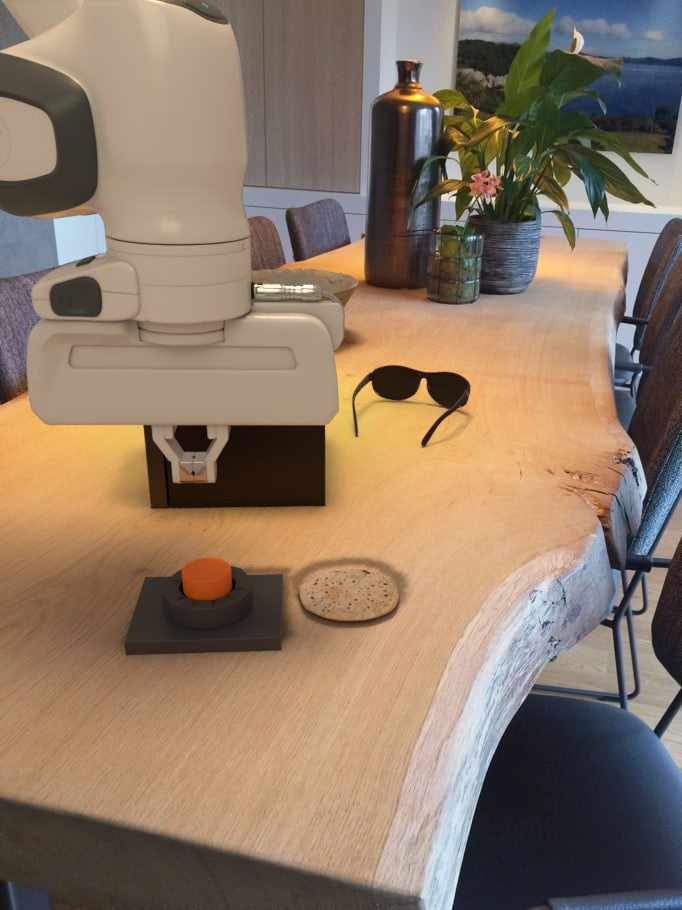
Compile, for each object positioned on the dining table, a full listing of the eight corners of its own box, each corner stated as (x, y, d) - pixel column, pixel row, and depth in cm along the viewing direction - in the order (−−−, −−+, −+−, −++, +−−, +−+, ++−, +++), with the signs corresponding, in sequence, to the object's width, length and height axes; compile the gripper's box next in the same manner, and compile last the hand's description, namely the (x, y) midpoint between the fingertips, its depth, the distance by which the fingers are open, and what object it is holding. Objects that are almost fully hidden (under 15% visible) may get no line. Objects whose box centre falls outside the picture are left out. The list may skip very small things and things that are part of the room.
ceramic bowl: (215, 358, 128) (211, 293, 124) (233, 323, 149) (230, 266, 144) (358, 360, 129) (359, 295, 125) (356, 325, 150) (357, 269, 145)
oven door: (117, 508, 80) (101, 359, 73) (148, 440, 96) (136, 313, 90) (167, 508, 80) (155, 359, 74) (189, 440, 96) (180, 314, 90)
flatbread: (399, 577, 69) (400, 567, 69) (397, 629, 62) (398, 617, 62) (302, 573, 69) (302, 563, 69) (290, 624, 63) (289, 613, 62)
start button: (180, 602, 60) (178, 582, 60) (186, 577, 64) (184, 557, 63) (230, 601, 61) (229, 581, 60) (233, 576, 64) (232, 556, 63)
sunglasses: (472, 408, 109) (475, 372, 107) (448, 450, 96) (450, 409, 94) (374, 397, 113) (375, 361, 111) (336, 436, 99) (336, 396, 97)
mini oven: (170, 509, 80) (156, 358, 74) (191, 441, 96) (181, 312, 90) (325, 507, 81) (325, 358, 75) (320, 440, 98) (320, 313, 91)
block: (125, 656, 59) (121, 620, 57) (146, 589, 67) (142, 557, 66) (281, 651, 60) (280, 616, 58) (283, 586, 68) (282, 554, 67)
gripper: (342, 275, 56) (339, 461, 62) (32, 269, 55) (60, 462, 61) (348, 294, 51) (344, 497, 57) (2, 289, 49) (36, 500, 55)
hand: (195, 479), depth 59 cm, fingers closed
